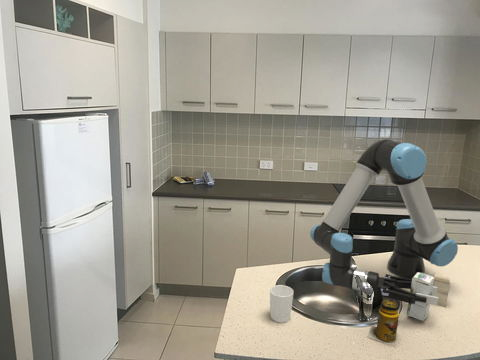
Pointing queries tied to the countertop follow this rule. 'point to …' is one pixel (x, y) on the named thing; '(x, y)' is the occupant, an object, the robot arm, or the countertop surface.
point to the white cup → (280, 303)
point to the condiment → (386, 323)
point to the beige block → (441, 289)
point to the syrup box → (422, 286)
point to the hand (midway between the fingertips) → (437, 296)
